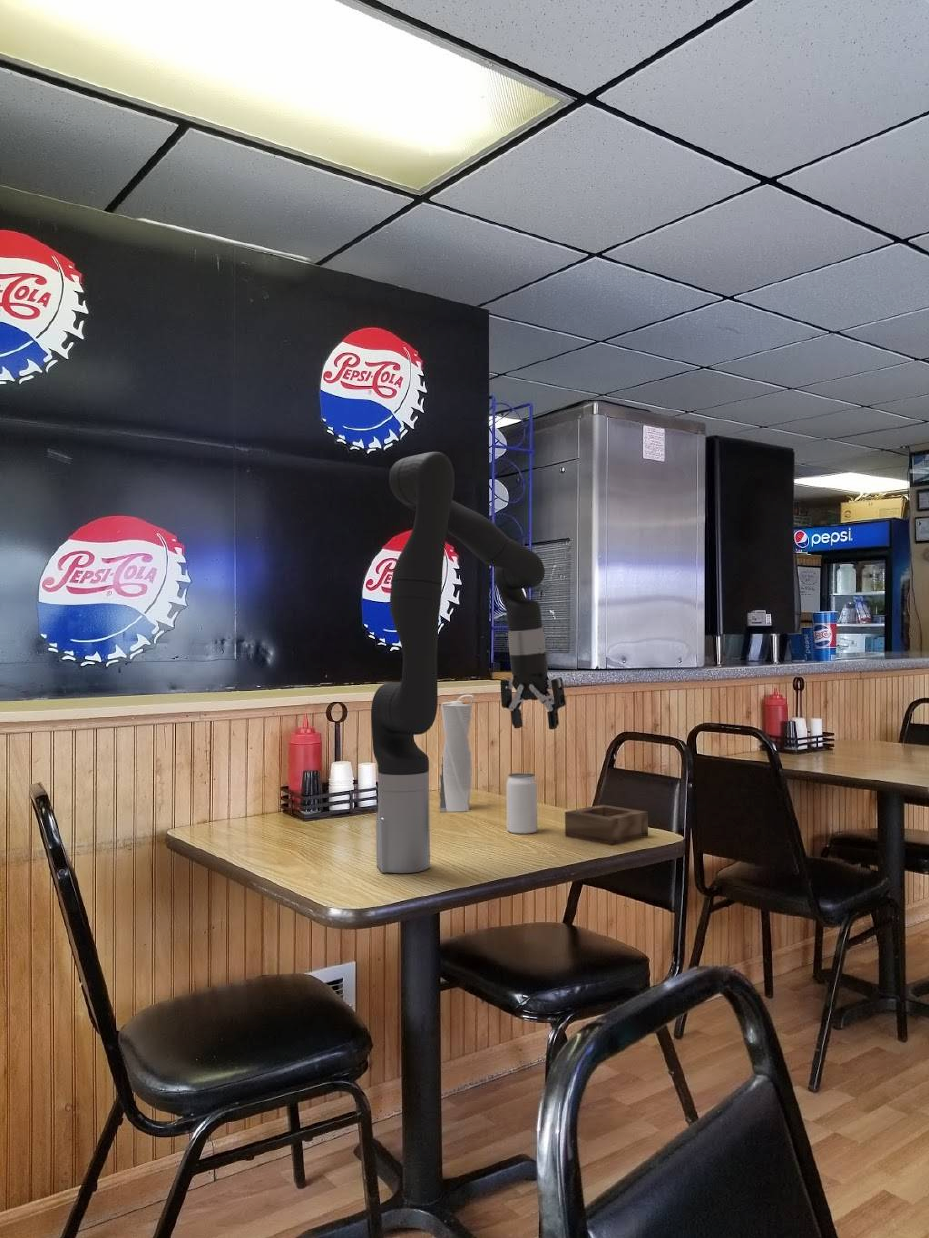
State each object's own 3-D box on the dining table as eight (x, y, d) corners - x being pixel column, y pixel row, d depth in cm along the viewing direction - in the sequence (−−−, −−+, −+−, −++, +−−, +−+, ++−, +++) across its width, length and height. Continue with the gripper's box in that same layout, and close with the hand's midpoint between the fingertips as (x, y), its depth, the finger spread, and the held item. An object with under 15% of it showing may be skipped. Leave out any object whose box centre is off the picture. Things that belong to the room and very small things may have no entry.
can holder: (611, 845, 183) (610, 819, 183) (565, 836, 192) (565, 811, 192) (648, 835, 191) (647, 811, 192) (602, 827, 200) (602, 804, 200)
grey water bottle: (473, 807, 228) (472, 693, 229) (475, 813, 220) (474, 695, 221) (439, 808, 228) (438, 694, 229) (440, 814, 220) (438, 695, 221)
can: (535, 834, 194) (534, 777, 194) (504, 834, 195) (504, 776, 196) (539, 828, 200) (538, 772, 201) (509, 827, 202) (508, 772, 202)
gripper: (489, 654, 193) (497, 731, 194) (547, 652, 185) (556, 732, 186) (508, 649, 199) (516, 723, 200) (566, 647, 191) (574, 725, 192)
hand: (535, 728), depth 193 cm, fingers open, 8 cm apart
